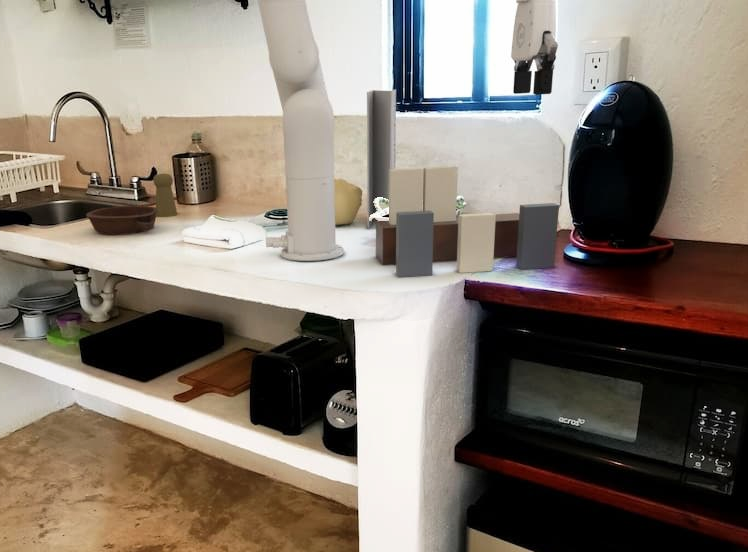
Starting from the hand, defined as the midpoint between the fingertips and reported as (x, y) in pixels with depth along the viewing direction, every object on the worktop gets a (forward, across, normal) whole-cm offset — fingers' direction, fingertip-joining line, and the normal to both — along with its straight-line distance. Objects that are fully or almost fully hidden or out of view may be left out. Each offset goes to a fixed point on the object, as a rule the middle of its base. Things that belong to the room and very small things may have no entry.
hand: (531, 93), depth 144 cm
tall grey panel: (+29, -34, -21) cm, 50 cm away
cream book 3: (+29, +17, -15) cm, 37 cm away
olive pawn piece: (+29, -67, -74) cm, 105 cm away
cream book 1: (+22, +5, -25) cm, 33 cm away
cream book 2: (+22, +5, -18) cm, 29 cm away
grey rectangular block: (+29, +17, -4) cm, 34 cm away
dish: (+29, -47, -84) cm, 100 cm away
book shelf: (+29, +5, -16) cm, 33 cm away
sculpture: (+29, -36, -32) cm, 57 cm away
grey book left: (+29, +17, -26) cm, 42 cm away
